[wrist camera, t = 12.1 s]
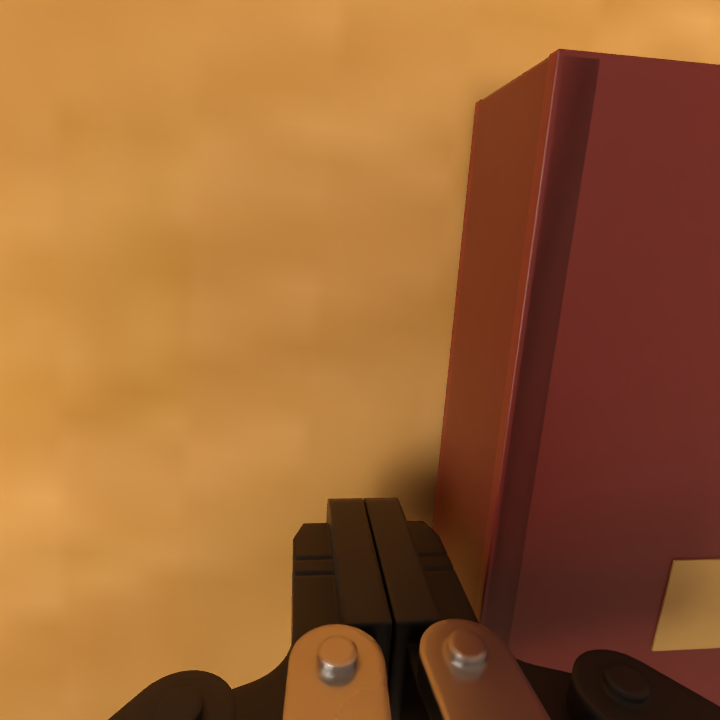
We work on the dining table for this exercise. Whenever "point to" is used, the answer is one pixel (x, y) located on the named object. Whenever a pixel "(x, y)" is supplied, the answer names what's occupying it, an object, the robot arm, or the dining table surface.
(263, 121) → the dining table surface
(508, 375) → the hardcover
